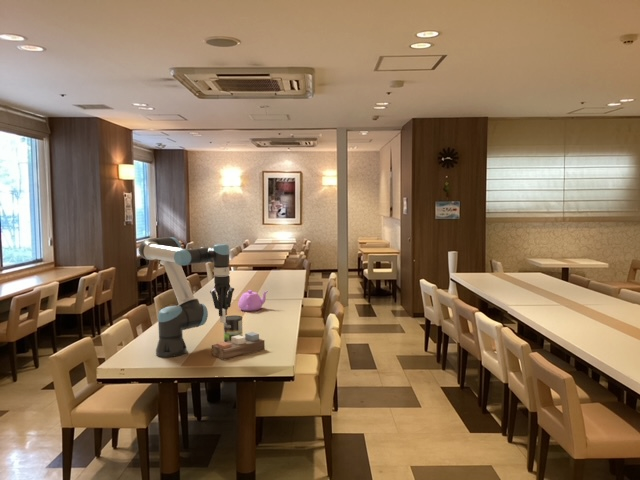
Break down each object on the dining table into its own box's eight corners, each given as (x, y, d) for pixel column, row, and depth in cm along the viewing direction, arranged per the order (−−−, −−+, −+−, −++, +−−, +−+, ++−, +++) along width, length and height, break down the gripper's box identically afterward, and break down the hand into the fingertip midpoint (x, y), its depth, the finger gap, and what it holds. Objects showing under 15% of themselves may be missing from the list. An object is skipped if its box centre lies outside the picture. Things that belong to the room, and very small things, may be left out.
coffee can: (231, 346, 268) (230, 320, 267) (220, 342, 275) (219, 317, 274) (246, 342, 275) (246, 317, 274) (235, 339, 282) (235, 314, 281)
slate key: (245, 339, 263) (245, 333, 263) (252, 337, 266) (252, 332, 266) (251, 341, 259) (251, 335, 259) (259, 339, 262) (258, 334, 262)
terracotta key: (217, 349, 252) (216, 343, 252) (224, 347, 255) (224, 341, 255) (223, 351, 247) (223, 345, 247) (231, 349, 250) (231, 344, 250)
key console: (212, 354, 253) (211, 345, 253) (251, 345, 270) (251, 336, 269) (224, 360, 245) (224, 350, 244) (264, 349, 261) (264, 340, 260)
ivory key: (231, 342, 257) (231, 336, 257) (238, 340, 260) (238, 335, 260) (237, 344, 253) (237, 339, 253) (245, 343, 256) (245, 337, 256)
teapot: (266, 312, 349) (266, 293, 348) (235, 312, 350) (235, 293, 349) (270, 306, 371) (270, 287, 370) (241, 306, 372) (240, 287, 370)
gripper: (214, 277, 241) (215, 325, 243) (237, 274, 250) (238, 321, 252) (206, 276, 247) (207, 323, 249) (229, 273, 255) (230, 318, 257)
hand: (223, 322), depth 250 cm, fingers closed
